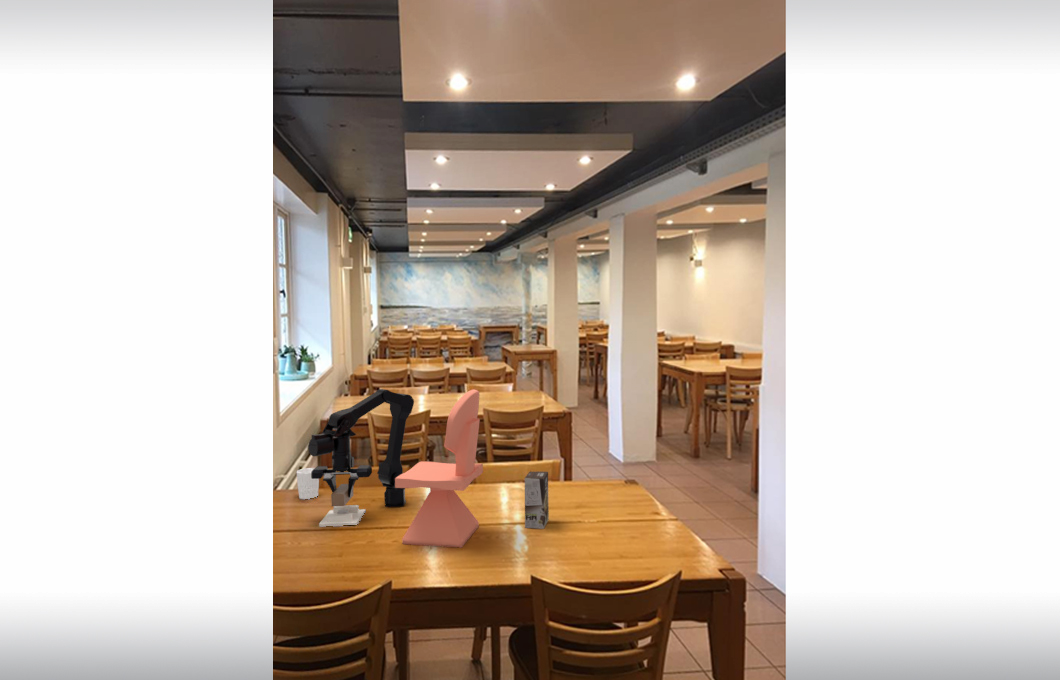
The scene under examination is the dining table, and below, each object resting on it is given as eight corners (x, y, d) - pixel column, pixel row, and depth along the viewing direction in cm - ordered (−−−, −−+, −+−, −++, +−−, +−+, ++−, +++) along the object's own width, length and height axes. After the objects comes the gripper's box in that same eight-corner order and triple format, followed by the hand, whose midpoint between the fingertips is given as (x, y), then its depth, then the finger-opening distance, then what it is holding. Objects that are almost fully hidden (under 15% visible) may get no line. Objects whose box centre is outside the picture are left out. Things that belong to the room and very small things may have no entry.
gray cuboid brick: (341, 495, 225) (341, 484, 225) (353, 495, 225) (353, 483, 225) (331, 506, 213) (331, 494, 213) (344, 506, 213) (343, 494, 213)
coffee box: (544, 529, 207) (543, 478, 206) (524, 528, 208) (523, 477, 207) (549, 519, 216) (548, 471, 215) (530, 518, 217) (529, 470, 216)
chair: (425, 519, 218) (422, 383, 216) (491, 522, 214) (488, 384, 211) (392, 549, 192) (388, 395, 189) (466, 554, 187) (463, 396, 185)
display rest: (365, 512, 226) (365, 503, 226) (356, 525, 212) (356, 516, 212) (330, 513, 226) (330, 504, 226) (319, 526, 212) (318, 517, 212)
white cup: (315, 500, 241) (314, 473, 241) (294, 500, 241) (293, 473, 241) (322, 493, 249) (321, 467, 249) (302, 494, 249) (301, 467, 249)
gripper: (374, 444, 226) (375, 489, 227) (319, 446, 226) (320, 491, 226) (367, 452, 215) (369, 499, 216) (310, 453, 214) (311, 501, 215)
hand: (342, 497), depth 219 cm, fingers closed on gray cuboid brick, 4 cm apart
